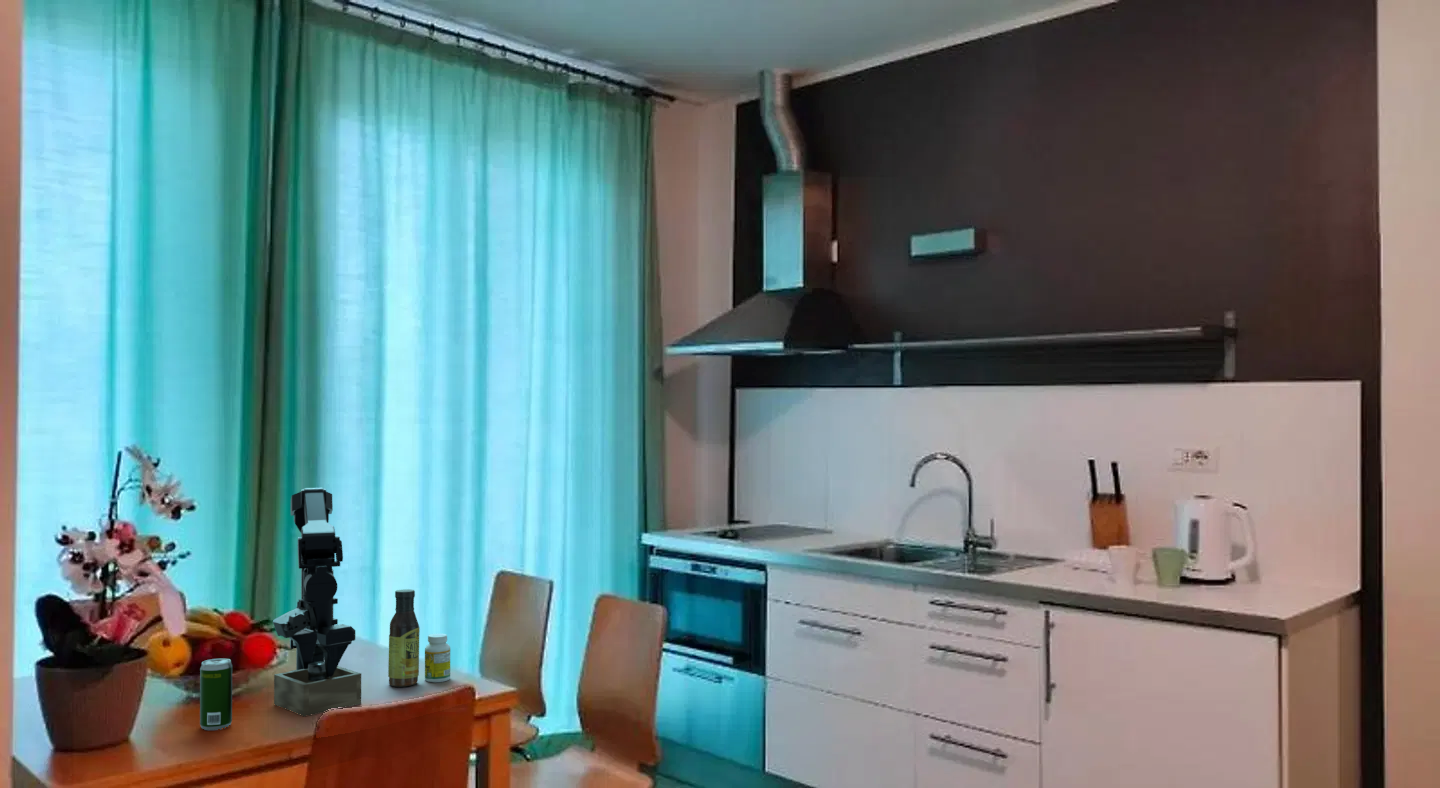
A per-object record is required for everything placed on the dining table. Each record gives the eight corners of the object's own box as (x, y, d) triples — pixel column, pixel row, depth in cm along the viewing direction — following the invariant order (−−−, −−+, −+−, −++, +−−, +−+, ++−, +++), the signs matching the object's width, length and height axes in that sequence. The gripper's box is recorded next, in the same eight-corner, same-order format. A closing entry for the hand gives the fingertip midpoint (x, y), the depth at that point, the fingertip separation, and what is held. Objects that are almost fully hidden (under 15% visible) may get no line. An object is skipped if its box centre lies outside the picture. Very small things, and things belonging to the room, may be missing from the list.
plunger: (284, 698, 218) (284, 664, 218) (327, 689, 225) (327, 656, 225) (307, 707, 212) (307, 671, 212) (351, 697, 219) (351, 663, 219)
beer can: (232, 728, 202) (232, 663, 202) (200, 732, 200) (200, 666, 200) (231, 720, 207) (231, 657, 207) (199, 724, 205) (200, 659, 205)
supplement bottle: (452, 681, 236) (452, 636, 236) (426, 683, 234) (426, 638, 234) (448, 675, 241) (448, 631, 241) (423, 677, 239) (423, 633, 239)
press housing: (274, 704, 218) (274, 674, 218) (330, 692, 227) (330, 663, 227) (303, 716, 210) (304, 685, 210) (361, 703, 219) (361, 673, 219)
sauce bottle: (410, 688, 230) (410, 593, 230) (382, 687, 231) (382, 592, 231) (424, 681, 236) (424, 588, 236) (397, 679, 238) (398, 587, 238)
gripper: (256, 593, 218) (256, 672, 218) (302, 605, 206) (302, 689, 206) (309, 586, 227) (309, 662, 227) (357, 597, 214) (356, 677, 214)
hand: (317, 672), depth 218 cm, fingers open, 9 cm apart
